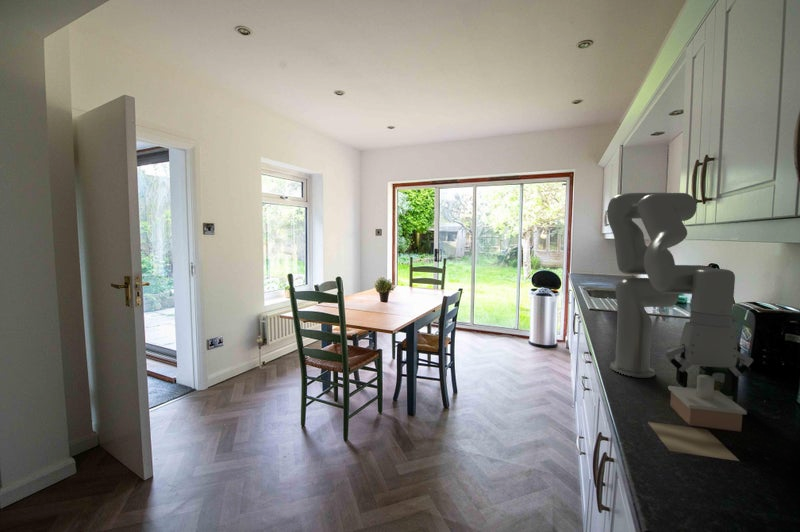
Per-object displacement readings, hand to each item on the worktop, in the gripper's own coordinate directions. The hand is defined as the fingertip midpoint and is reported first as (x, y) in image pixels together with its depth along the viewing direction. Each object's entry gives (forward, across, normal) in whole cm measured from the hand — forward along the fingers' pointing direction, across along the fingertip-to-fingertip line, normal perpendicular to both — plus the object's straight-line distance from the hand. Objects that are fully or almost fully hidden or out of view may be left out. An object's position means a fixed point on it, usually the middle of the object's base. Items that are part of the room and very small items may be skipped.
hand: (705, 387), depth 86 cm
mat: (+8, +8, +12) cm, 17 cm away
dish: (+8, 0, 0) cm, 8 cm away
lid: (+3, 0, 0) cm, 3 cm away
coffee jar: (+8, -8, -11) cm, 16 cm away
